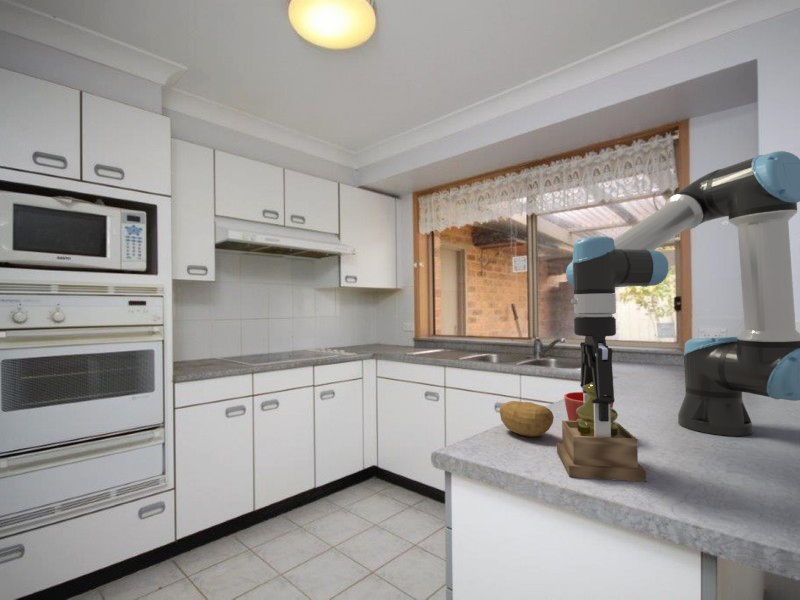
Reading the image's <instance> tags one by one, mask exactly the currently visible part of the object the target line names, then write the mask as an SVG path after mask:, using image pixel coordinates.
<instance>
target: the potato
mask: <svg viewBox="0 0 800 600" xmlns="http://www.w3.org/2000/svg"><path fill="white" fill-rule="evenodd" d="M499 414H500V419H501V422H502V423H503V425H504V426H505V427H506V429H507V430H510V431H511V432H514V433H516V434H519V435H521V436H524V437H531V438H532V437H533V438H535V437H539V436H542V435H545V433H546V432H548V431H549V430H550V428H551V427H552V425H553V423H554V414H553V412H552V410H550V409H549V407H547V406H544V405H541V404H538V403H534V402H531V401H518V400H511V401H507V402H504V403H503V404H501V405H500V408H499Z"/></svg>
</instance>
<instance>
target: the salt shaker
mask: <svg viewBox="0 0 800 600" xmlns="http://www.w3.org/2000/svg"><path fill="white" fill-rule="evenodd" d="M581 389H583V390H584V391H585V392H586V393H587V394H588V395H589V399H588V400H587V401H586V402H585V403H584V405H581V406H579V407H578V408H577V410H576V412H577V415H578V416H579V417H580V418H578V419H577V430H578V431H579V432H580V433H582V434H584V435H587V436H592V437H594V403H592V402H591V401H592V400H595V392H594V383H593V382H591V383H590V384H586V385H584V386H583V388H581ZM583 390H582V391H583ZM603 396H605V395H603ZM618 416H619V414H618V411H617V410H616V409H615V408H614V407H613V408H611V407H610V419H611V437H614V436H616V435H617V434H618V423H619V422H617V421H616V420H617V419H618Z"/></svg>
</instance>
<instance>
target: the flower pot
mask: <svg viewBox="0 0 800 600" xmlns="http://www.w3.org/2000/svg"><path fill="white" fill-rule="evenodd" d="M583 393H584V392H583V391H576V392H575V391H574V392H567V393H565V394H564V395H563V397H564V404H565V408H566V409H565V410H566V415H567V421H577V419H578V418H580V417H579V416H578V415H577V412H576V410H577V408H578V407H579V406H581V405H584V396H583ZM605 396H606V395H605ZM610 407H611V408H613V409H614V403H611V404H610Z"/></svg>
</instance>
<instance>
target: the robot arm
mask: <svg viewBox="0 0 800 600" xmlns="http://www.w3.org/2000/svg"><path fill="white" fill-rule="evenodd" d="M799 202H800V158H799V156H798V155H796V154H794V153H792V152H789V151H785V150H784V151H783V150H781V151H780V150H778V151H772V152H769V153H766V154H761V155H760V154H759V155H757V156H755V157H752V158H750V159H747V160H744V161H741V162H738V163H735V164H732V165H729V166H725V167H723V168H719V169H716V170H713V171H711V172H708V173H707V174H704V175H703V176H701V177H699V178H698V179H696V180H695V181H693V182H691V183H690V184H688V185H687V186H685V187H684V188H682V189H681V190H679V191H678V192H676V193H675V194H673V195H672V196H670V197H669V198H667V200H666V201H665V203H664V206H662V207H661V208H660V209H657V210H656V211H655V212H653V213H652V214H650V215H649V216H647V217H645V218H644V219H643V220H641V221H639V222H638V223H636V224H635V225H634V226H632V227H631V228H629V229H628V230H626V231H625V232H623V233H622V234H619V235H618V236H617V237H616V238H612V237H610V236H609V237H608V236H591V237H584V238H580V239H577V240H576V241H575V242H574V243H573V246H572V247H573V248H572V261H571V262H569V263H568V265H567V267H566V270H565V278H566V280H567V283H568V284H569V285H570V286H571V288H573V298H572V299H571V300H570V303H571V304H572V305H573V310H574V311H573V312H574V314H575V315H577V316H575V317H574V318H573V330H574V332H573V333H574V334H575V335H577V336H580V337H581V336H582V337H584V341H583V342H580V345H579V346H580V383H579V384H580V389H582V388H583V386H584V385H586V384H590V383H591V382H593V383H594V392H595V400H592V401H591V402H592V403H594V437H611V419H610V404H611V403H613V404H614V403H615V391H614V390H615V387H614V374H613V362H612V361H613V349H612V348H611V347H609V345H607V341H606V337H614V336H616V333H617V319H616V318H615V316H613V315H614V314H616V313H617V306H616V305H617V304H616V303H617V301H616V299H617V295H616V288H626V287H627V288H629V287H642V288H643V287H644V288H645V287H650V286H652V287H654V286H657V285H659V284H661V283H662V282H664V280H666V278H667V276H668V274H669V269H670V267H669V261H668V258H667V257H666V255H665V254H664V253H662V252H661V251H658V250H657V249H658V248H659V247H661V246H663V245H664V244H666V243H667V242H668V241H670V240H672V239H673V238H675V236H677V235H678V234H680V233H682V232H683V231H684V230H692V229H695V228H696V227H698V226H699V225H701V224H702V223H705V222H708V221H709V222H710V221H712V220H716V219H720V218H725V217H728V222H729V223H730V224H731V225H733V226H735V227H736V228H737V234H738V235H737V236H738V237H737V238H738V250H739V264H740V266H739V268H740V280H741V295H742V296H741V297H742V308H743V309H742V310H743V312H742V313H743V322H744V323H743V325H744V330H743V332H741V333H740V334H739V335H737V336H724V337H723V336H720V337H719V336H718V337H703V338H690V339H688V340H686V342H685V343H684V353H683V364H684V383H685V384H684V386H685V389H684V390H685V395H684V398H683V401H682V403H681V406H680V409H679V411H678V414H677V418H678V420H677V421H678V424H679V425H680V426H681V427H683V428H687V429H689V430H692V431H695V432H701V433H705V434H713V435H718V436H730V437H732V436H733V437H736V436H737V437H739V436H740V437H742V436H749V435H752V434H753V423H752V420H751V417H750V414H749V412H748V410H747V408H746V405H745V404H744V401H743V393H745V394H751V395H757V396H762V397H769V398H771V399H774V400H784V401H793V402H796V401H800V332H798V331H797V329H796V327H797V326H796V314H795V313H796V311H795V301H794V300H795V299H794V287H793V283H794V282H793V271H792V257H791V243H790V242H791V239H790V225H789V221H790V220H791V219H792V218H793V217H794V216H795V215H796V214H797V213H798V203H799ZM582 392H584V393H583V396H584V403H585V402H586V401H587V400H588V399H589V395H588V394H587V393H586V392H585V391H584V390H583V389H582ZM603 395H606V396H603Z"/></svg>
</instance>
